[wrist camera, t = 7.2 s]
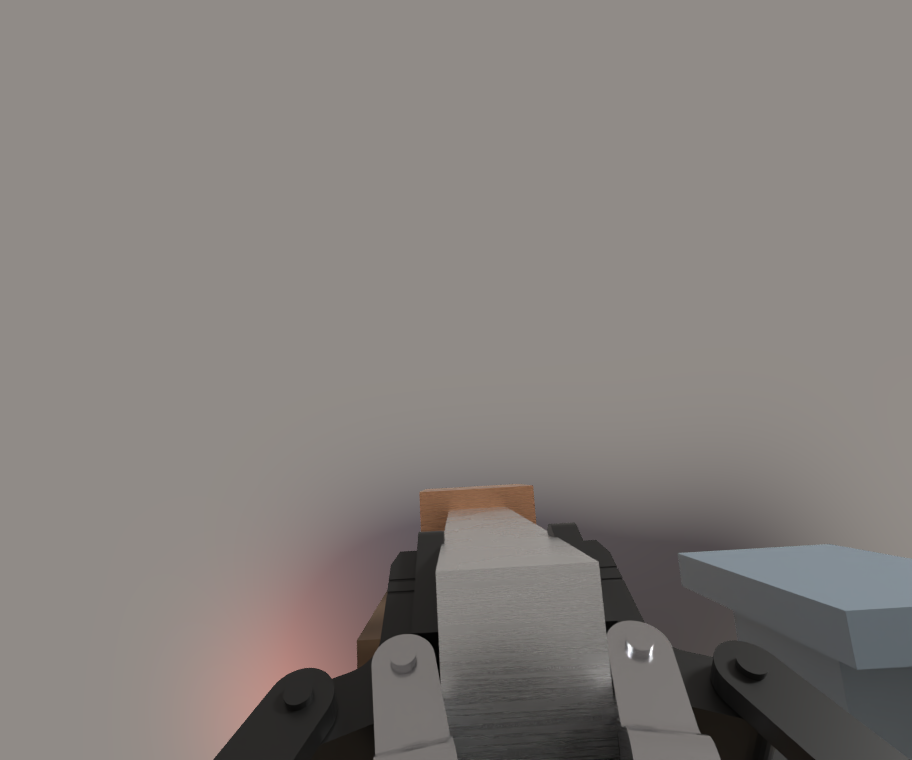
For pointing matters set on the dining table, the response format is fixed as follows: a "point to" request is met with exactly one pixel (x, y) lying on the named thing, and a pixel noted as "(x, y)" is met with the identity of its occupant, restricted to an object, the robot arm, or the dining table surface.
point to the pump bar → (518, 631)
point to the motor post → (824, 621)
